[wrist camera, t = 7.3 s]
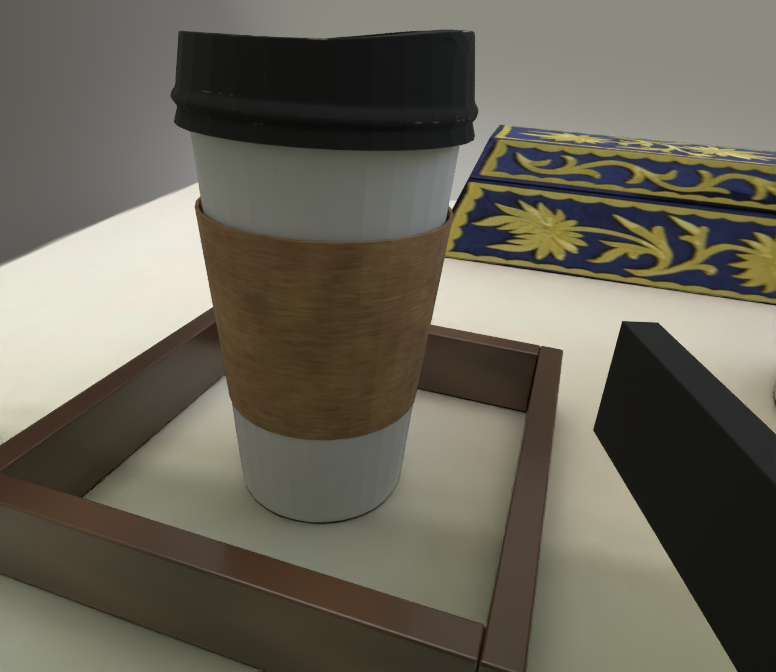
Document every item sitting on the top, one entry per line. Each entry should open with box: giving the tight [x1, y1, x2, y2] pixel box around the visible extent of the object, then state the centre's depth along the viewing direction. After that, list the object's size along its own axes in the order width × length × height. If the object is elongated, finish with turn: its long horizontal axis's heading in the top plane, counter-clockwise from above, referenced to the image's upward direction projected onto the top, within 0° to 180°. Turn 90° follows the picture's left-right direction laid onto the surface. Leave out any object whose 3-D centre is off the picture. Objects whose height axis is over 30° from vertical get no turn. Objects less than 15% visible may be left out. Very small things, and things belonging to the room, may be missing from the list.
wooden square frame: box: [0, 307, 563, 672], centre depth 22 cm, size 16×16×3 cm
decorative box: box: [445, 125, 776, 305], centre depth 46 cm, size 11×30×9 cm, turn 75°
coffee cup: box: [171, 30, 478, 522], centre depth 19 cm, size 8×8×15 cm
